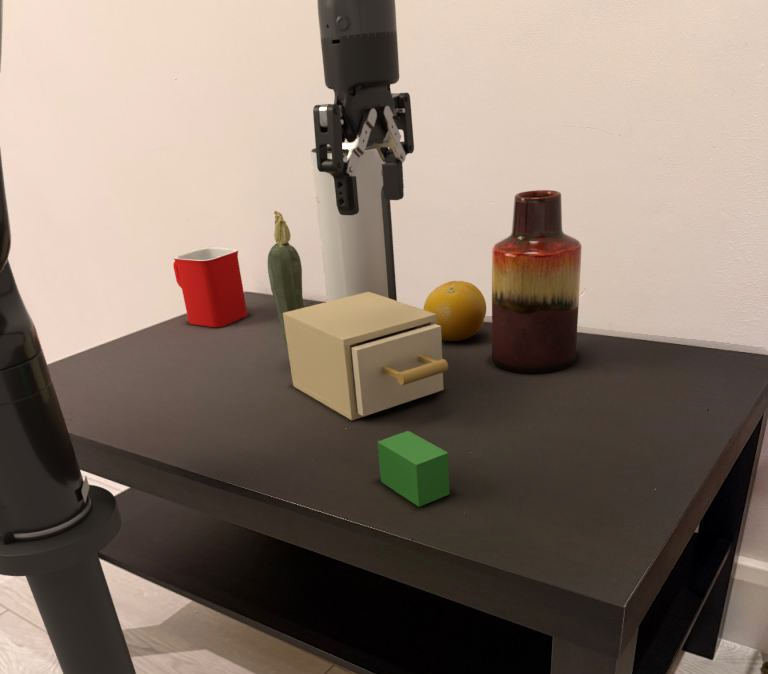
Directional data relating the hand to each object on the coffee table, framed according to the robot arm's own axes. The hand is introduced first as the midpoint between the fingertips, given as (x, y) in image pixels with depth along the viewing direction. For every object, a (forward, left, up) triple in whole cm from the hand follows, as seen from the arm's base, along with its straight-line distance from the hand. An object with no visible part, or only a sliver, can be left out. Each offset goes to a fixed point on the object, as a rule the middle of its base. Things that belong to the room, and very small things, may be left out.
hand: (372, 206), depth 83 cm
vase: (+21, -4, -22) cm, 30 cm away
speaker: (+11, +23, -22) cm, 33 cm away
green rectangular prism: (-11, -22, -22) cm, 33 cm away
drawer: (-1, -1, -21) cm, 21 cm away
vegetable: (-3, +17, -22) cm, 28 cm away
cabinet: (-1, +3, -22) cm, 22 cm away
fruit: (+19, +10, -22) cm, 31 cm away
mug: (-3, +49, -22) cm, 54 cm away
